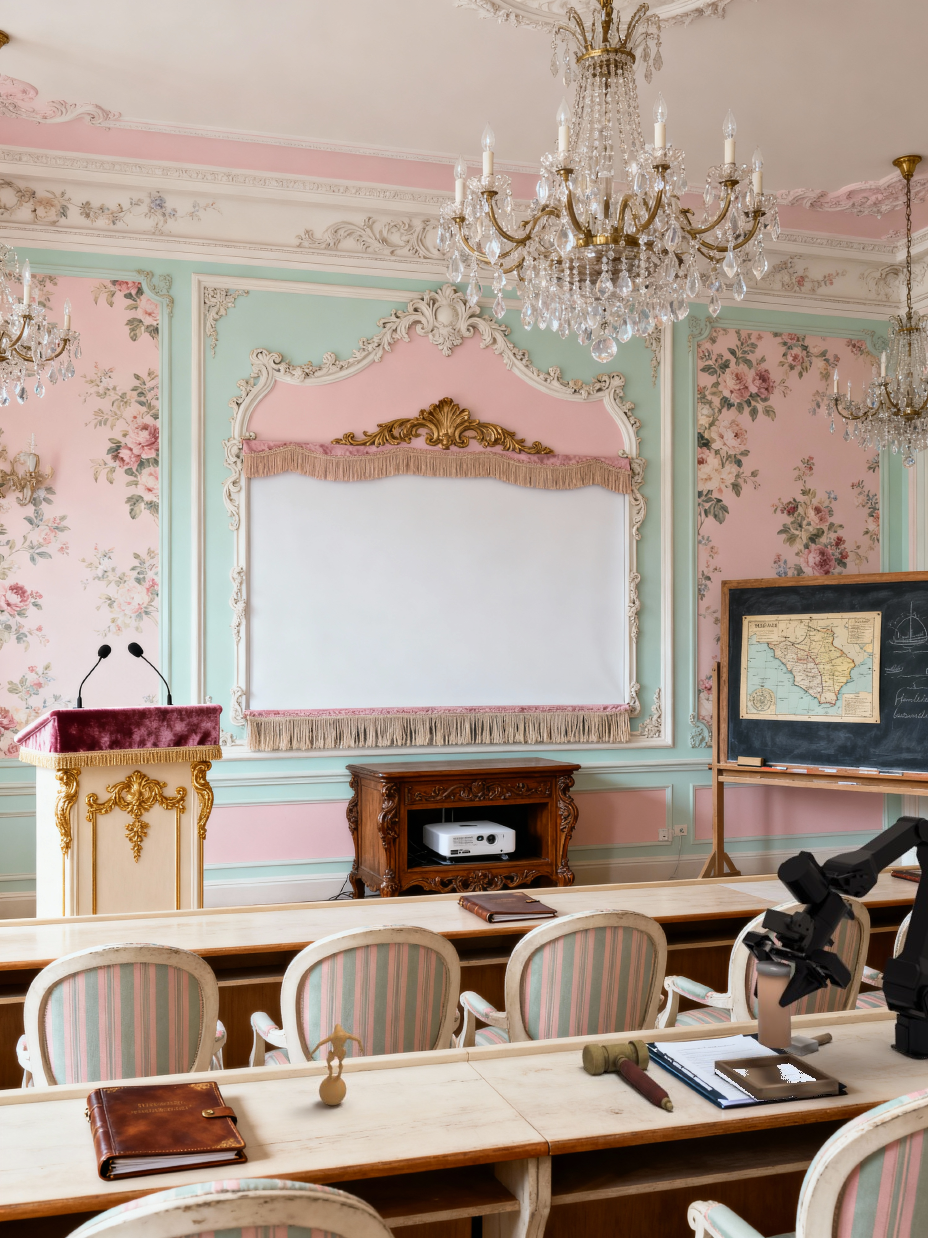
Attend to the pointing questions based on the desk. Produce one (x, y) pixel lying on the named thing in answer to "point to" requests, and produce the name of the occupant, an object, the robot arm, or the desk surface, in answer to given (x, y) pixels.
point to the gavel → (626, 1067)
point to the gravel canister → (773, 1004)
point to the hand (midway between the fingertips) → (767, 1001)
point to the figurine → (334, 1086)
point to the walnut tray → (776, 1077)
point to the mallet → (807, 1044)
